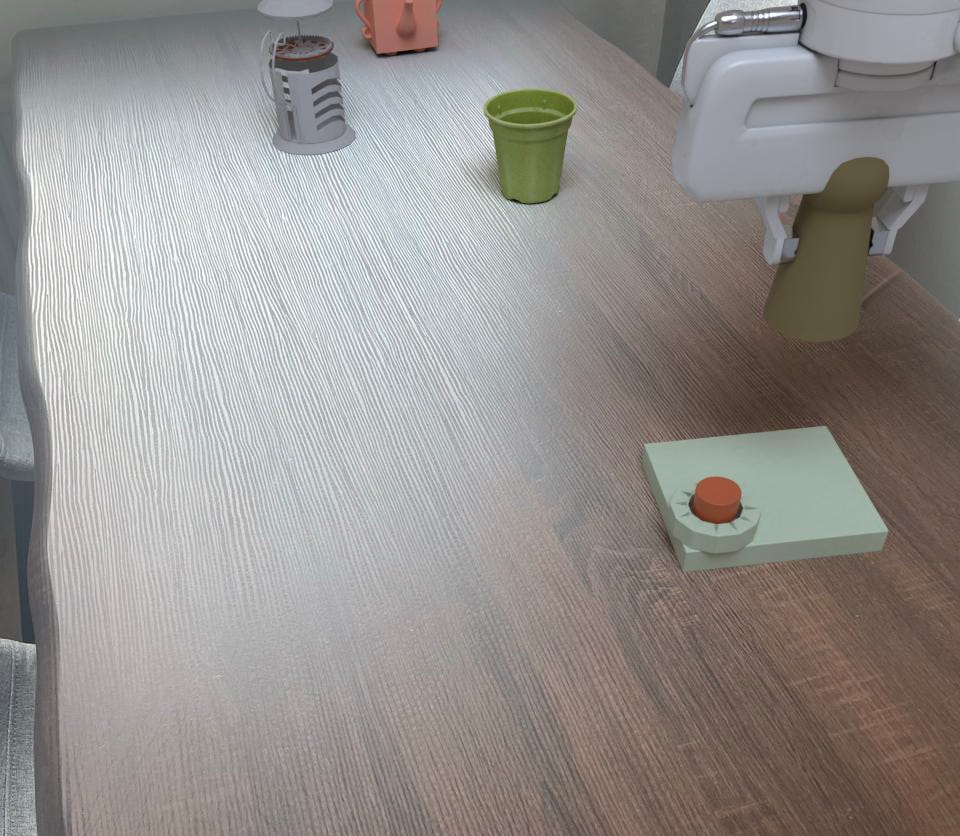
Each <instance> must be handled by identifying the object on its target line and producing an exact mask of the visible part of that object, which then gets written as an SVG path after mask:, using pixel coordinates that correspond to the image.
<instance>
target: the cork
mask: <svg viewBox="0 0 960 836" xmlns="http://www.w3.org/2000/svg"><path fill="white" fill-rule="evenodd" d="M888 181H889V167H888V165H887V164H886V163H885V161H884V160H882V159H879V158H875V157H862V158H855V159H852V160H849V161H846V162H843V163H841V164H840V165H839V167H838V168H837V169H836V170H835V171H834V172H833V173H832V175H831V177H830V179H829V180H828V182H827V184H826V186H825V188H824V190H823V191H822V192H821V193H815V194H803V195H802V197H801V200H800V202H799V206H798V209H797V211H796V215H795V217H794V220H793V223H792V225H791V226H792V227H793V229H794V231H793V232H796V233H797V234H798V236H799V237H800V240H799V245H798V249H797V250H796V251H795V254H796V259H795V261H794V262H793V263H788V264H779V265H778V266H777V269H776V272H775V275H774V278H773V280H772V283H771V287H770V289H769V292H768V295H767V298H766V301H765V304H764V307H763V311H762V316H763V318H764V321H765V322H766V324H767V325H769V327H770V328H771V329H773V330H774V331H775V332H778V333H780V334H781V335H784V336H786V337H789V338H792V339H795V340H798V341H804V342H805V341H806V342H813V343H821V342H823V343H824V342H834V341H837V340H842V339H845V338H846V337H848V336H851V335H852V334H854V333H855V332H856V330H857V329H858V328H859V326H860V320H861V319H860V318H861V312H862V302H863V295H864V287H865V279H866V272H867V264H868V257H869V256H868V249H869V241H870V233H871V225H872V217H874V209H875V204H876V203H877V202H878V201H879V200H880V199H881V198H882V197H884V195H885V193H886V192H887V190H888V188H889V187H888Z"/></svg>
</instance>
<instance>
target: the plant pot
mask: <svg viewBox="0 0 960 836" xmlns="http://www.w3.org/2000/svg"><path fill="white" fill-rule="evenodd" d="M482 110H483V115H484V116H485V117H486V119H487V121H488V125H489V128H490V131H491V132H492V138H493V145H494V150H495V157H496V163H497V169H498V170H497V171H498V177H499V184H500V191H501V194H502V195H503V196H504V198H506V199H508V200H517V201H519V202H520V203H522V204H537V203H543V202H546V201H549V200H551V199H552V197H553V196H554V195H557V194H558V193H559V191H560V186H561V179H562V171H563V166H564V160H565V159H564V158H565V152H566V146H567V141H568V135H569V130H570V128H571V126H572V122H573V117H575V115H576V114H577V111H578V103H577V101H576V100H575V99H574V98H573V97H572V96H570V95H568V94H566V93H564V92H561V91H558V90H553V89H545V88H521V89H513V90H508V91H504V92H501V93H497V94H496V95H494V96H492V97H490V98H489V99H488V100H486V101H485V102H484V104H483V107H482Z"/></svg>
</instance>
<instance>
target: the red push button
mask: <svg viewBox="0 0 960 836" xmlns="http://www.w3.org/2000/svg"><path fill="white" fill-rule="evenodd" d="M741 494H742V492H741V489H740V487H739V485H738V484H737V483H735V482H734V481H732V480H730V479H728V478H724V477H718V476H714V477H708V478H705V479H703V480H701V481H700V482H699V483H698V484H697V486H696V489H695V495H694V501H693V507H692V509H693V513H694V514H695V516H696V517H697V518H699V519H700V520H702V521H705V522H709V523H713V524H723V523H729V522H731V521H733V520H734V519H735V518H736V516H737V513H738V509H739V504H740V499H741Z"/></svg>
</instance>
